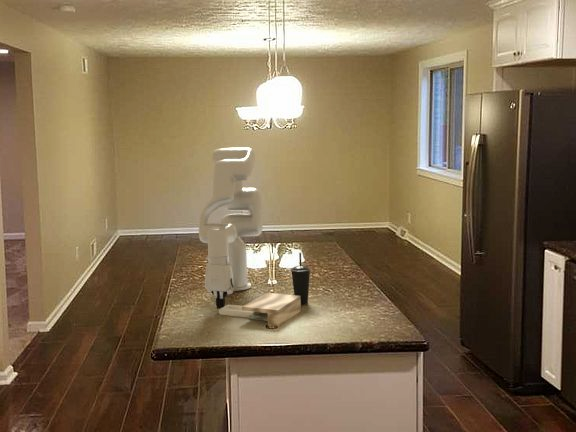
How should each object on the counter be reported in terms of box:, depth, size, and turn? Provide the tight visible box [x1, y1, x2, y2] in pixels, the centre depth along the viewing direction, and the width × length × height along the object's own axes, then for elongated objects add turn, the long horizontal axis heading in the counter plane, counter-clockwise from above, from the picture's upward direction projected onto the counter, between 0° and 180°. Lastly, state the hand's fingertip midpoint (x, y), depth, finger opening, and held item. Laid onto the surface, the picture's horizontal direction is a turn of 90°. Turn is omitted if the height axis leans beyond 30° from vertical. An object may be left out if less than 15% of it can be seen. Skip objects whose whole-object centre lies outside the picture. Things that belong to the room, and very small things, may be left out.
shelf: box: [241, 292, 302, 328], centre depth 261 cm, size 14×20×6 cm
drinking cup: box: [290, 252, 312, 306], centre depth 277 cm, size 8×8×20 cm
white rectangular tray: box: [218, 304, 262, 318], centre depth 267 cm, size 14×7×2 cm, turn 67°
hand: (220, 307), depth 270 cm, fingers closed
